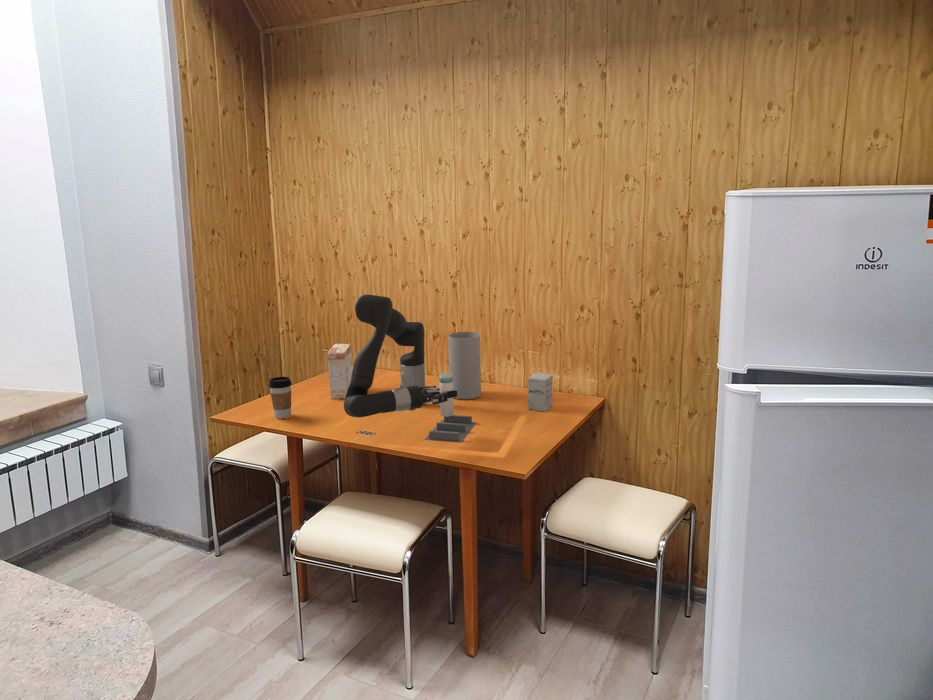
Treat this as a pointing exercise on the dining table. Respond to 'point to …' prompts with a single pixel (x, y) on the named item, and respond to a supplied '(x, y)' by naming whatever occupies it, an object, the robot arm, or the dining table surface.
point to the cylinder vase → (465, 364)
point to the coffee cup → (281, 396)
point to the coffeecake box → (339, 370)
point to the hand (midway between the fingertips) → (453, 391)
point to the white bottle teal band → (445, 385)
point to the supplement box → (540, 392)
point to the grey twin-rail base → (452, 429)
